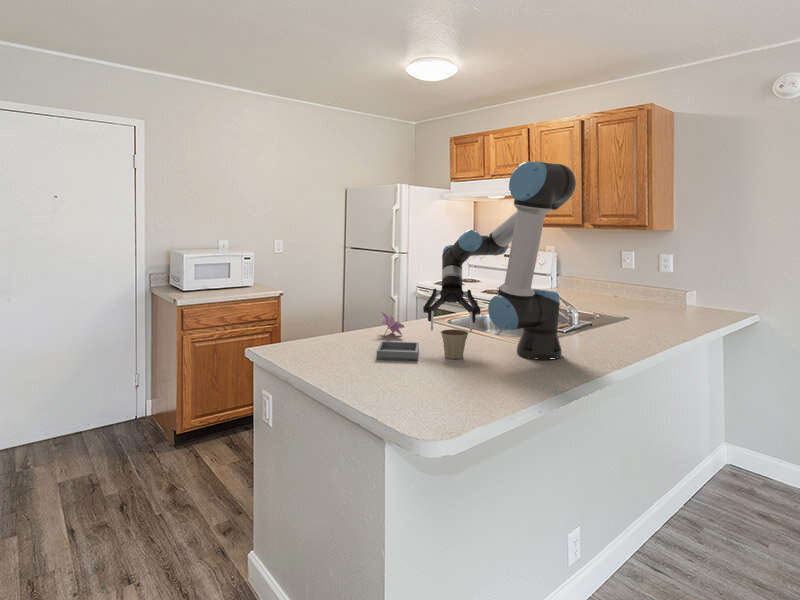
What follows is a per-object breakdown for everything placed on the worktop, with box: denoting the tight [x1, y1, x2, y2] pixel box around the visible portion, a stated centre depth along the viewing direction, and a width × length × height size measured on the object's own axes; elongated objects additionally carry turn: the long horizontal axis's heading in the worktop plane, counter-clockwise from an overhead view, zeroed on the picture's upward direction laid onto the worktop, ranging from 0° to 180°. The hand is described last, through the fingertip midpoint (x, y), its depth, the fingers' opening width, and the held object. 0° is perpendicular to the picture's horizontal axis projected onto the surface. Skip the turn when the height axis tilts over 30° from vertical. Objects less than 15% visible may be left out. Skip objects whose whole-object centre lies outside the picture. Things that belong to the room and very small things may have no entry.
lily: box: [380, 311, 406, 338], centre depth 202 cm, size 12×12×10 cm
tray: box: [376, 340, 420, 362], centre depth 173 cm, size 14×14×3 cm
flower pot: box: [440, 328, 469, 360], centre depth 171 cm, size 9×9×9 cm
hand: (451, 329), depth 175 cm, fingers open, 13 cm apart
